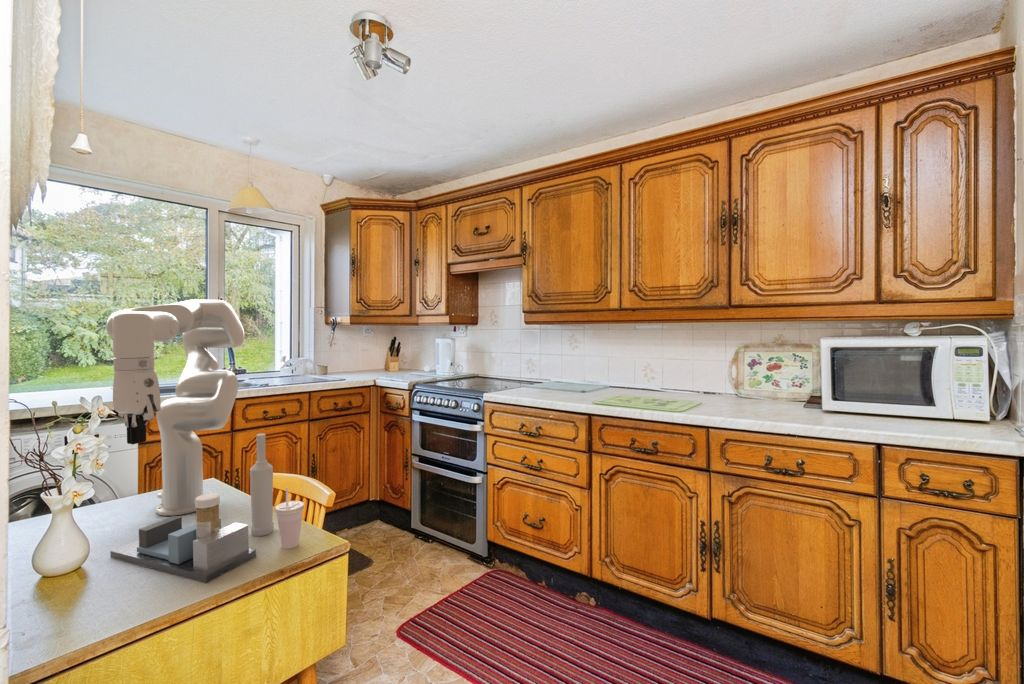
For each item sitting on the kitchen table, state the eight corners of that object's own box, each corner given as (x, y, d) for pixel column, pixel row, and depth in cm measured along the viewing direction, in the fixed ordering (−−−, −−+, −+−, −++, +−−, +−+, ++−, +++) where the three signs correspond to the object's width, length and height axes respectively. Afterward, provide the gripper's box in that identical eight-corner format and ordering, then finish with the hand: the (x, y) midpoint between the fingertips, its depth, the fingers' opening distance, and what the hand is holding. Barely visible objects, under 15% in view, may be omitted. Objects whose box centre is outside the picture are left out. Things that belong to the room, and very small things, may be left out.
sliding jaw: (134, 553, 107) (133, 526, 106) (179, 534, 116) (178, 510, 116) (178, 564, 102) (177, 536, 102) (221, 544, 111) (220, 518, 111)
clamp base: (110, 557, 108) (109, 524, 108) (164, 535, 119) (164, 505, 119) (206, 583, 98) (205, 547, 97) (255, 556, 109) (255, 523, 109)
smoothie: (270, 545, 114) (270, 487, 114) (297, 536, 119) (297, 481, 119) (281, 554, 110) (280, 494, 109) (309, 545, 115) (308, 487, 114)
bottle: (251, 529, 123) (250, 433, 122) (274, 526, 125) (273, 431, 124) (249, 538, 118) (248, 437, 117) (273, 534, 120) (271, 435, 119)
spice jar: (225, 553, 107) (224, 494, 107) (205, 562, 103) (204, 501, 102) (211, 549, 109) (210, 491, 108) (191, 558, 105) (190, 498, 104)
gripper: (172, 365, 113) (174, 442, 114) (130, 362, 118) (132, 436, 119) (138, 368, 106) (141, 450, 107) (95, 365, 111) (97, 443, 112)
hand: (136, 442), depth 113 cm, fingers closed
